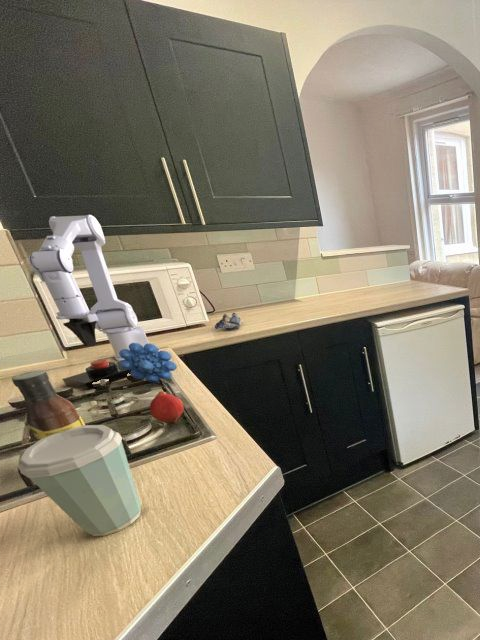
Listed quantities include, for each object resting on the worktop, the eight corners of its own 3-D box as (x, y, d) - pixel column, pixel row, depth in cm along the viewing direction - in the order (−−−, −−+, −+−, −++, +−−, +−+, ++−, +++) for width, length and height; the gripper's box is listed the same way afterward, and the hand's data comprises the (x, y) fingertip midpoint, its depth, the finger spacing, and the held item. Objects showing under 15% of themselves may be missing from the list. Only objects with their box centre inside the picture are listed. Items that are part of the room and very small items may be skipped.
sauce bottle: (72, 465, 80) (18, 369, 72) (112, 457, 82) (63, 363, 74) (52, 484, 75) (-9, 383, 67) (95, 476, 77) (41, 376, 69)
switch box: (122, 368, 130) (117, 356, 129) (144, 371, 127) (139, 359, 125) (66, 386, 119) (59, 373, 117) (89, 390, 115) (82, 377, 113)
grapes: (125, 392, 112) (106, 350, 107) (132, 384, 118) (114, 343, 113) (178, 383, 117) (161, 342, 112) (182, 375, 123) (167, 335, 118)
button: (104, 364, 123) (102, 358, 123) (112, 365, 122) (109, 359, 121) (90, 368, 120) (87, 363, 120) (97, 370, 119) (94, 364, 118)
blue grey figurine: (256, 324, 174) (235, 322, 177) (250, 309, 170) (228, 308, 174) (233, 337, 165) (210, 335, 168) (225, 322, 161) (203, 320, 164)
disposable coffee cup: (163, 519, 65) (122, 436, 59) (68, 562, 58) (10, 472, 52) (149, 492, 72) (111, 414, 66) (62, 527, 64) (10, 444, 58)
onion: (152, 430, 92) (137, 398, 89) (164, 419, 97) (150, 387, 94) (182, 426, 93) (168, 394, 90) (192, 414, 98) (180, 383, 95)
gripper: (33, 299, 112) (58, 347, 117) (64, 301, 107) (88, 351, 113) (66, 293, 118) (88, 339, 123) (97, 295, 113) (118, 343, 119)
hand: (90, 344), depth 118 cm, fingers closed
